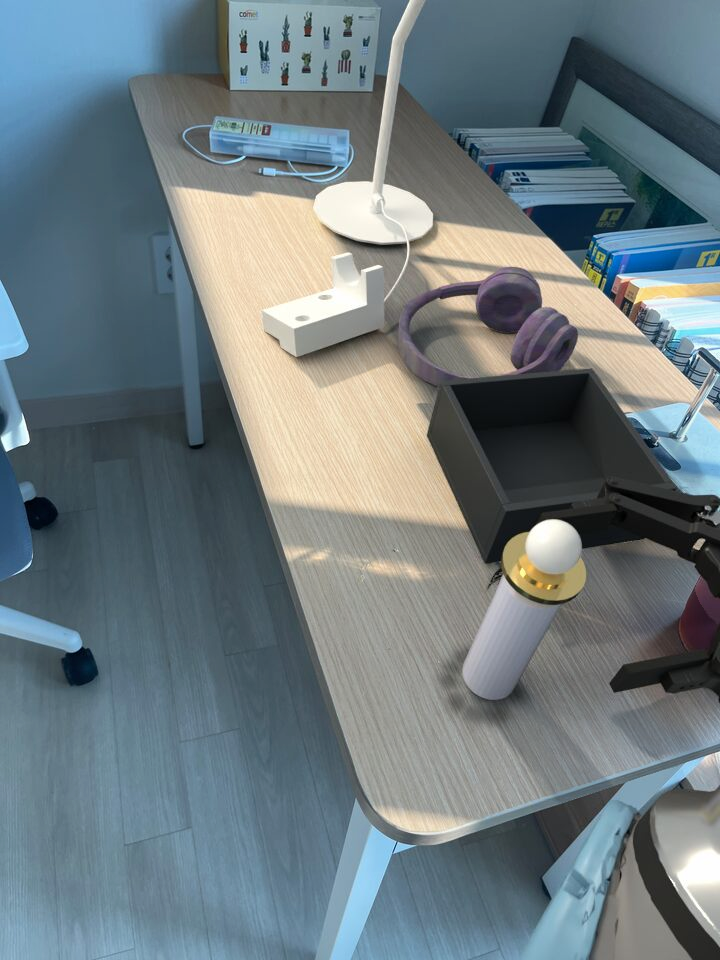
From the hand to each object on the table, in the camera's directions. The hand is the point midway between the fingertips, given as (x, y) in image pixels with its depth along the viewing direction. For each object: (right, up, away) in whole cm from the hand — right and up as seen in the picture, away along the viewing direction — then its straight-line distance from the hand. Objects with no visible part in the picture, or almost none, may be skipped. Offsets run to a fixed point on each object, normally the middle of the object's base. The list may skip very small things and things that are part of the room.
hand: (574, 597), depth 56 cm
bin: (+2, +8, +23) cm, 24 cm away
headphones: (-2, +24, +37) cm, 45 cm away
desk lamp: (-12, +42, +52) cm, 68 cm away
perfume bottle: (-5, -8, +7) cm, 12 cm away
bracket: (-21, +27, +37) cm, 51 cm away
